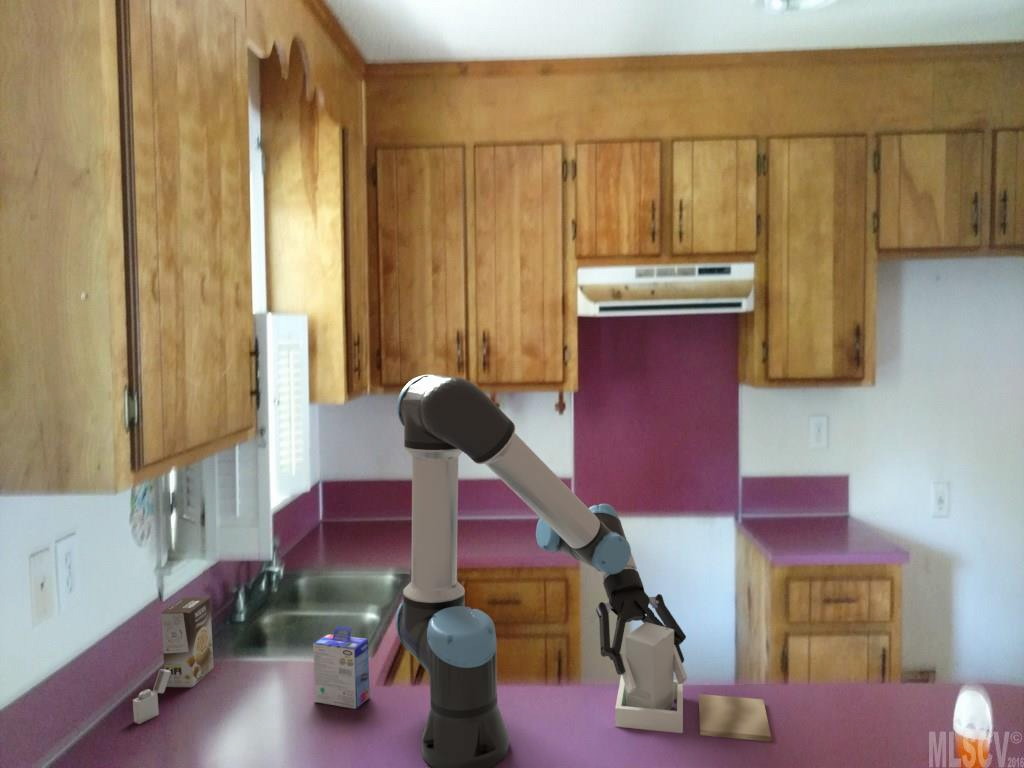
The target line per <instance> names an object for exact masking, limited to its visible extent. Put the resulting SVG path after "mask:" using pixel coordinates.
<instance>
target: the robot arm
mask: <svg viewBox="0 0 1024 768" xmlns="http://www.w3.org/2000/svg"><path fill="white" fill-rule="evenodd" d="M396 412H397V415H398V419H399V421H400V423H401V425H402V426H403V427H404V428H403V429H404V430H403V432H404V433H403V435H404V438H403V440H404V441H403V442H404V446H403V447H404V449H405V451H407V452H408V453H409V454H410V455H411V457H412V458H411V460H412V461H411V462H412V463H411V464H412V465H411V467H412V468H411V472H412V473H411V474H412V475H411V477H412V478H411V577H410V579H411V581H410V582H409V583H408V584H407V585H406V586H405V587H404V588H403V590H402V595H403V596H402V602H401V603H400V604H399V606H398V608H397V611H396V614H395V621H394V623H395V629H396V634H397V636H398V638H399V641H400V642H401V644H402V646H403V648H405V649H406V651H407V652H409V653H410V654H411V656H412V657H414V659H416V661H417V662H418V663H419V665H421V666H422V667H423V669H425V671H426V672H427V673H428V677H429V697H430V699H429V700H430V702H429V703H430V709H429V712H428V716H427V720H426V722H425V726H424V729H423V732H422V733H423V734H422V736H421V755H422V759H423V760H424V761H425V762H426V763H427V765H429V766H430V767H432V768H492V767H494V766H496V765H498V764H499V763H500V762H501V761H502V760H504V759H505V757H506V756H507V754H508V752H509V732H508V729H507V727H506V723H505V719H504V717H503V715H502V713H501V710H500V707H499V704H498V665H497V663H498V662H497V646H498V640H497V639H498V638H497V636H496V627H495V624H494V623H495V622H494V621H493V620H492V618H491V617H490V615H488V614H487V613H486V612H484V611H482V610H480V609H478V608H473V609H472V608H471V607H470V606H465V605H466V604H465V603H466V601H465V600H466V599H465V598H466V595H465V594H466V593H465V592H466V591H465V590H466V589H465V588H464V586H463V585H462V584H461V583H460V582H459V581H458V525H459V523H458V522H459V521H458V517H459V516H458V513H459V512H458V511H459V509H458V507H459V506H458V505H459V503H458V502H459V457H460V455H461V454H462V453H464V454H465V455H467V456H468V457H469V458H470V459H471V460H472V461H473V462H474V463H475V464H477V465H483V464H484V465H485V466H487V468H488V469H490V470H491V472H492V473H494V474H495V475H496V477H498V478H499V479H500V481H502V482H503V483H504V484H505V485H506V486H507V487H508V488H509V489H510V490H511V491H512V492H513V493H514V494H515V495H517V496H518V498H519V499H521V501H522V502H523V503H525V504H526V505H527V506H528V507H529V508H530V509H531V510H532V511H533V512H534V513H535V514H536V515H537V516H538V517H539V519H538V521H537V524H536V528H535V529H536V530H535V537H536V538H535V539H536V542H537V545H538V546H539V548H540V549H541V550H542V551H545V552H551V553H557V552H559V553H563V554H566V555H567V556H569V557H571V558H573V559H576V560H578V561H580V562H582V563H583V564H585V565H588V566H590V567H592V568H594V569H595V570H597V572H598V573H599V575H600V578H601V580H602V581H603V583H602V584H603V587H604V591H605V594H606V597H607V599H608V602H606V603H605V602H603V601H601V602H599V603H598V605H597V607H596V609H595V612H596V614H597V617H598V620H599V623H598V624H599V645H600V647H599V648H600V649H599V650H600V655H601V656H602V658H605V657H609V659H610V660H611V661H613V665H614V668H615V671H616V674H617V675H618V676H621V675H622V677H623V680H624V683H625V686H626V689H627V692H628V694H629V693H632V692H633V691H634V690H635V689H636V686H635V683H634V679H633V676H632V673H631V670H630V667H629V664H628V661H627V658H626V652H621V650H622V645H623V644H622V643H623V639H624V634H625V628H626V624H627V623H630V622H632V621H633V622H634V621H636V622H639V621H641V622H642V623H643V624H644V623H645V622H648V623H652V624H655V625H659V626H663V627H666V628H670V629H674V676H675V677H676V680H677V681H678V684H683V685H684V683H685V682H686V681H687V680H688V676H687V673H686V671H685V670H686V669H684V666H683V663H684V662H685V657H684V655H683V653H682V652H683V651H682V649H681V646H680V645H681V644H682V643H683V642H684V641H685V640H686V638H687V636H686V634H685V633H684V630H682V628H681V626H680V625H679V624H678V622H677V620H676V618H675V617H674V616H673V615H672V613H671V611H670V609H669V608H668V607H667V606H666V604H665V600H664V597H663V595H662V594H661V593H658V594H657V595H656V596H649V595H648V594H647V593H646V592H645V587H644V584H643V582H642V579H641V576H640V573H639V571H638V570H637V565H636V562H635V560H634V556H633V553H632V550H631V549H632V548H631V545H630V543H629V541H628V540H627V537H626V534H625V531H624V528H623V525H622V522H621V521H622V520H621V519H620V518H619V516H618V515H619V514H618V513H617V511H616V509H615V508H614V507H613V505H611V504H608V503H600V504H598V505H597V504H594V505H591V506H590V507H588V506H587V505H586V504H585V503H584V502H583V501H582V500H581V499H580V498H579V497H578V496H577V495H576V494H575V492H573V491H572V490H571V489H570V488H569V486H567V484H565V483H564V482H563V481H562V480H561V478H559V476H557V474H556V473H555V472H554V471H553V470H552V469H551V468H550V467H549V466H548V465H547V464H546V463H545V462H544V461H543V460H542V459H541V457H539V456H538V455H537V454H536V453H535V452H534V451H533V449H532V448H531V447H529V445H527V443H526V442H524V440H522V438H521V437H519V435H518V434H517V433H516V425H515V423H514V422H513V421H512V420H511V419H510V417H508V416H507V415H506V414H505V413H504V412H503V411H502V409H501V408H500V407H499V406H498V405H497V404H496V403H495V402H494V401H493V400H492V399H491V398H490V397H489V395H487V394H486V392H484V391H483V390H482V389H481V388H480V387H478V385H476V384H474V383H473V382H471V381H470V380H467V379H465V378H461V377H455V376H447V375H442V374H436V373H432V374H422V375H420V376H417V377H414V378H412V379H411V380H410V381H408V383H406V385H405V386H404V387H403V388H402V389H401V392H400V393H399V396H398V397H397V404H396ZM649 605H651V607H652V609H654V610H655V612H656V614H657V616H658V617H657V616H656V615H655V613H654V611H653V610H652V609H651V608H650V607H649ZM611 612H612V613H614V614H615V615H616V616H617V617H616V622H615V630H614V635H613V640H612V645H611V635H610V616H609V614H610V613H611Z"/></svg>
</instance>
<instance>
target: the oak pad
mask: <svg viewBox="0 0 1024 768" xmlns="http://www.w3.org/2000/svg"><path fill="white" fill-rule="evenodd" d="M698 711H699V713H698V714H699V719H698V720H699V735H700V736H709V737H718V738H727V739H736V740H749V741H757V742H758V741H760V742H767V743H770V742H772V734H771V729H770V726H769V725H770V724H769V721H768V716H767V715H768V714H767V711H766V707H765V701H764V699H762V698H751V697H750V698H749V697H738V696H727V695H715V694H704V693H703V694H701V693H698Z"/></svg>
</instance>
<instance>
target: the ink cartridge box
mask: <svg viewBox="0 0 1024 768" xmlns="http://www.w3.org/2000/svg"><path fill="white" fill-rule="evenodd" d="M352 629H353V628H352V626H342V625H336V626H335V630H334V632H333V634H329V633H328V634H325V635H324V636H322V637H321V638H318V639H317V640H316V641H315V642H313V643H312V647H313V648H312V652H313V653H312V655H313V677H314V678H313V684H314V685H313V687H314V689H313V691H314V693H313V695H314V703H319V704H324V705H331V706H336V707H342V708H348V709H353V710H357V708H359V707H360V706H361V705H363V704H364V703H365V702H367V701H368V700H369V699H371V691H370V667H369V666H370V662H369V658H370V657H369V638H363V637H354V636H351V634H352ZM339 631H345V632H347V634H343V633H338V632H339Z"/></svg>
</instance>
